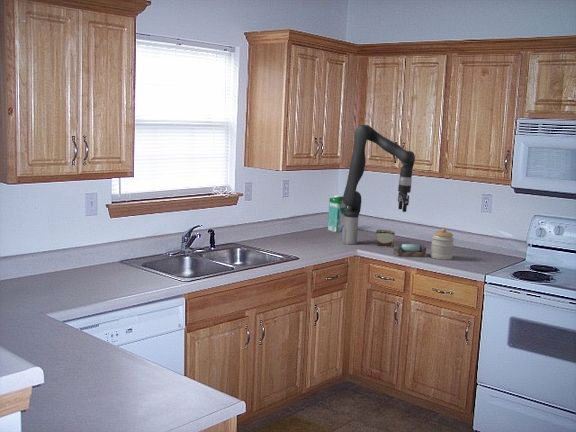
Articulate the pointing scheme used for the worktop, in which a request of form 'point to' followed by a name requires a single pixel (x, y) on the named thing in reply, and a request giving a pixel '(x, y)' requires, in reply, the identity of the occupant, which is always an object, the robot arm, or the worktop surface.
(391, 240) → the food container
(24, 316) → the worktop surface
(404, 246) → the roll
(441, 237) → the jar
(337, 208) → the milk carton
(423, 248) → the holder
